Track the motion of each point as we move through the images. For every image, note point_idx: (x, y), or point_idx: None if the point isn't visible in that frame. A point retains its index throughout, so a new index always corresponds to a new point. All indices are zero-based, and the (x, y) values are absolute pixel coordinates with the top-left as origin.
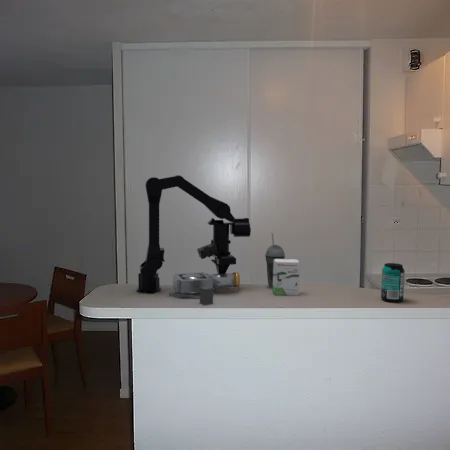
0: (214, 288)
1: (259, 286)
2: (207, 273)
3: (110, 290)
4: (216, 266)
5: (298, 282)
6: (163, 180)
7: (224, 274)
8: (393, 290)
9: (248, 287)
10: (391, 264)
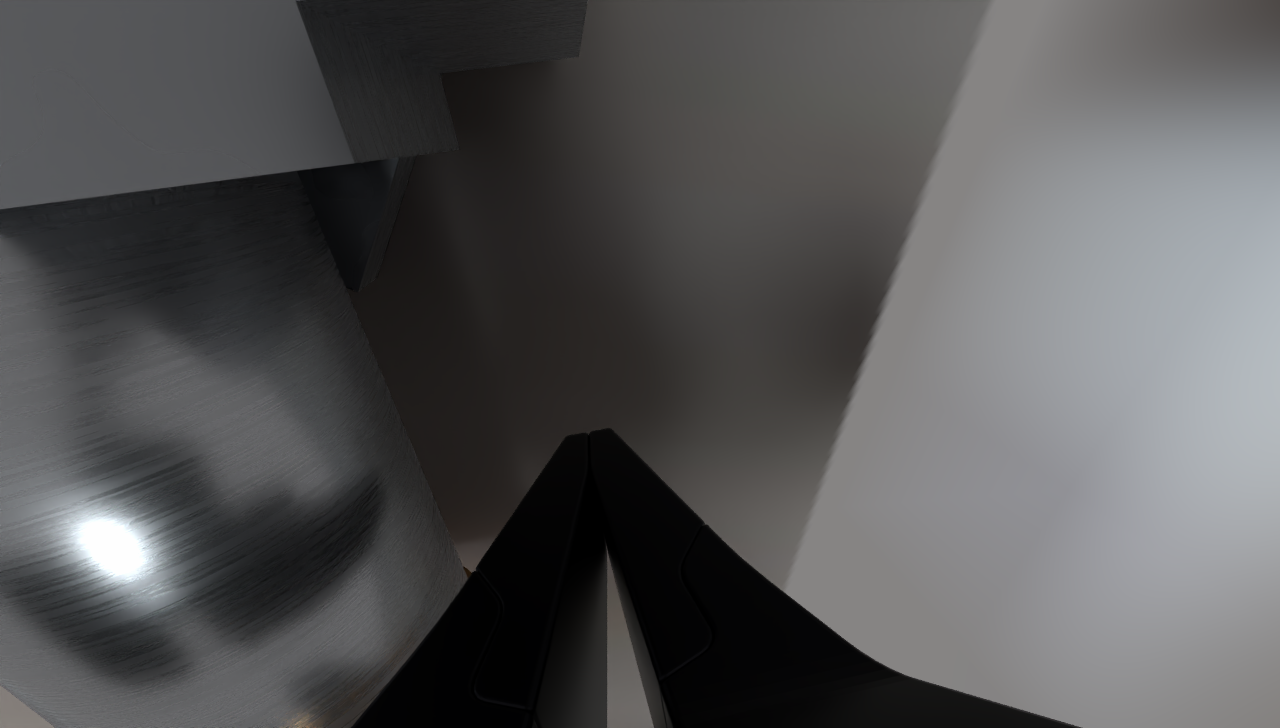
0: (353, 283)
1: (641, 707)
2: (286, 165)
3: None
4: (689, 658)
5: None
6: None
7: (49, 711)
8: None
9: (609, 640)
10: None
